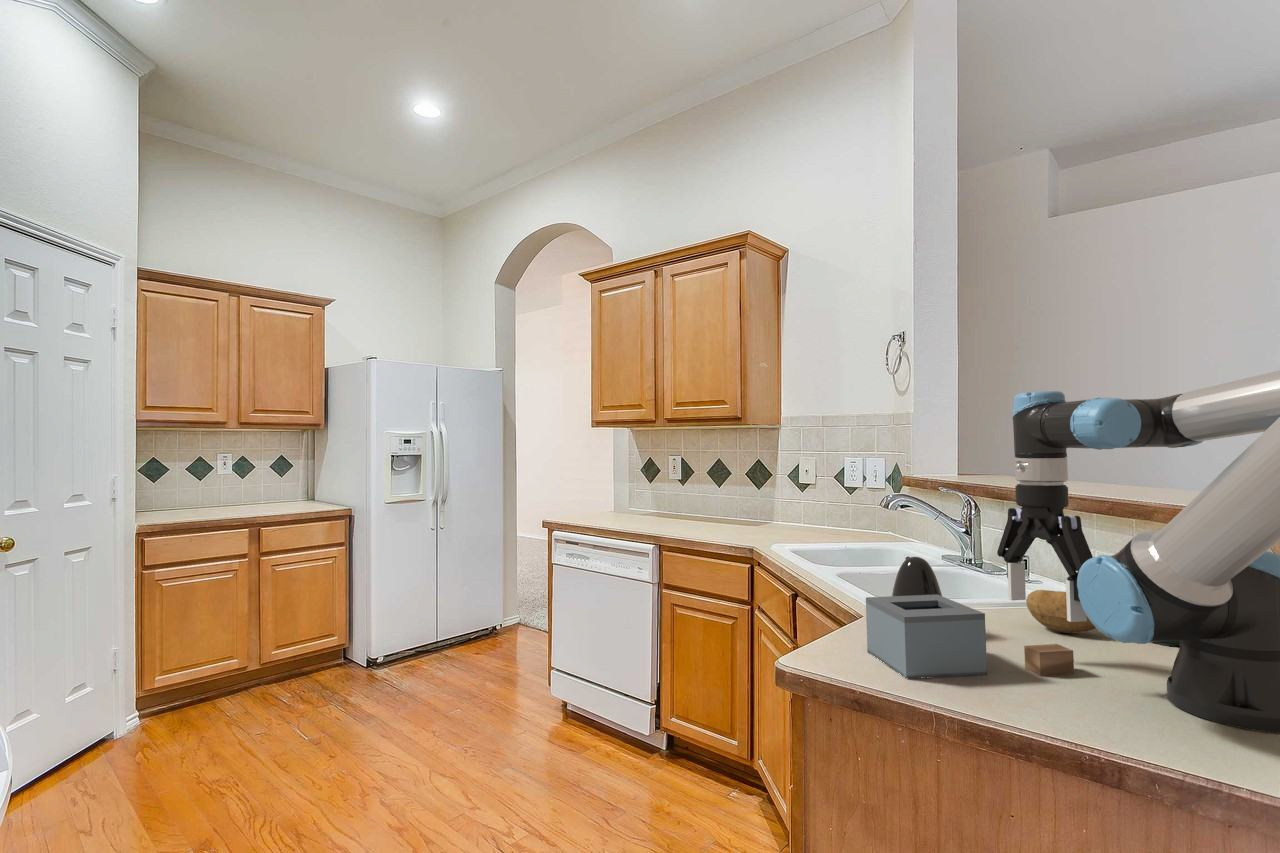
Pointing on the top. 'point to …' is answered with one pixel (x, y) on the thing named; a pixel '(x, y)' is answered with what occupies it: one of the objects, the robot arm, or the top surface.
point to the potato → (1054, 612)
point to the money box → (926, 636)
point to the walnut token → (1049, 659)
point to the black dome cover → (916, 579)
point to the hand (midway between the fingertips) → (1045, 609)
